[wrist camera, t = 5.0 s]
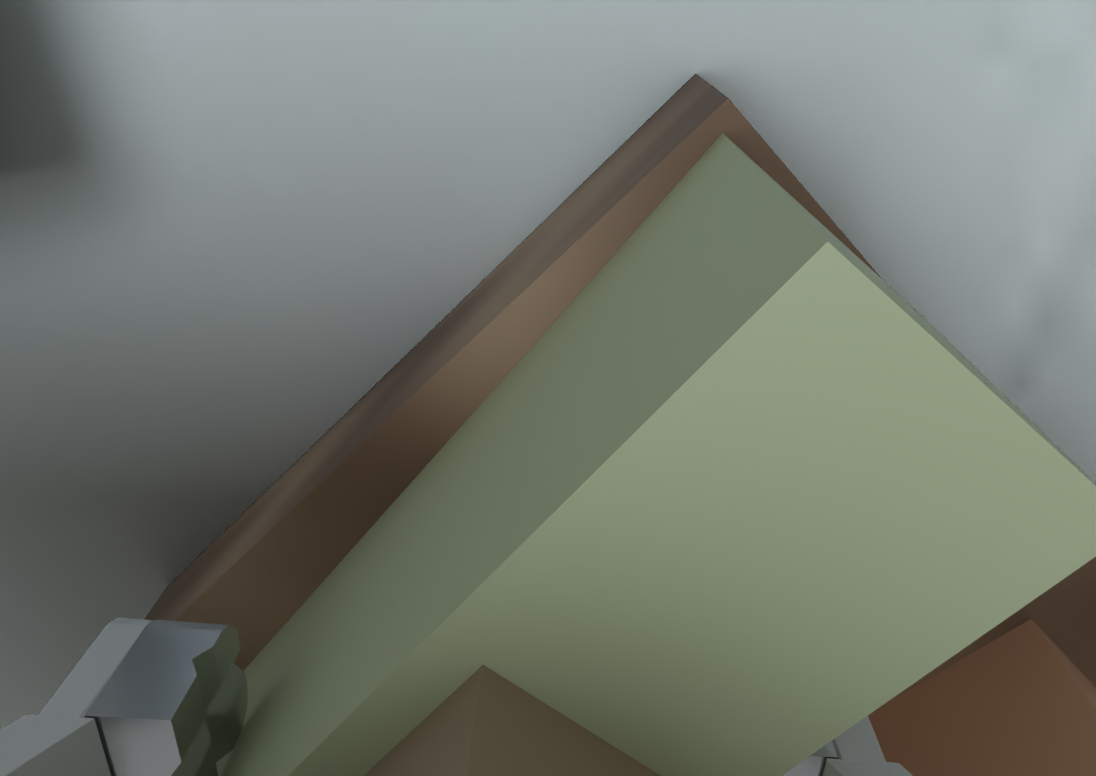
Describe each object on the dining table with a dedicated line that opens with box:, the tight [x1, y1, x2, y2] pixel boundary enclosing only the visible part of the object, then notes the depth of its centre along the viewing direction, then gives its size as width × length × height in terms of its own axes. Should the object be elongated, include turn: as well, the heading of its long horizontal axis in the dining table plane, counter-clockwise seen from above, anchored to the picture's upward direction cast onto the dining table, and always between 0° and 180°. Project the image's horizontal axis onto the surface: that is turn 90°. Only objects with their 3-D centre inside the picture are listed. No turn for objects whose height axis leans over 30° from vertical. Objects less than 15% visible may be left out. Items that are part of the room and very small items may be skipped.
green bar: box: [216, 133, 1096, 776], centre depth 10 cm, size 14×4×6 cm, turn 141°
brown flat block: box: [144, 74, 1096, 703], centre depth 15 cm, size 14×16×3 cm
